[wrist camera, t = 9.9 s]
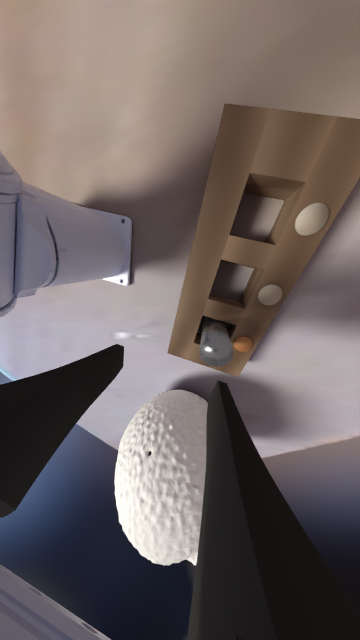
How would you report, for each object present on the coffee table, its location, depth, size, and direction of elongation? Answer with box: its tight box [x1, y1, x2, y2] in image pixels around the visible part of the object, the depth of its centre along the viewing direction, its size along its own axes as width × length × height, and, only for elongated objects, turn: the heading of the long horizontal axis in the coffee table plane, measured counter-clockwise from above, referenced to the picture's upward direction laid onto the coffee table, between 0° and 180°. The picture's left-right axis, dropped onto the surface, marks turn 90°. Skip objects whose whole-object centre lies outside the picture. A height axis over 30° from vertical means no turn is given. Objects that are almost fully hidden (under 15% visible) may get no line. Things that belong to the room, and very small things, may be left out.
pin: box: [199, 316, 233, 367], centre depth 15 cm, size 3×3×7 cm
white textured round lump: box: [115, 390, 208, 565], centre depth 19 cm, size 20×18×16 cm
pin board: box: [168, 104, 360, 377], centre depth 14 cm, size 10×22×3 cm, turn 167°
